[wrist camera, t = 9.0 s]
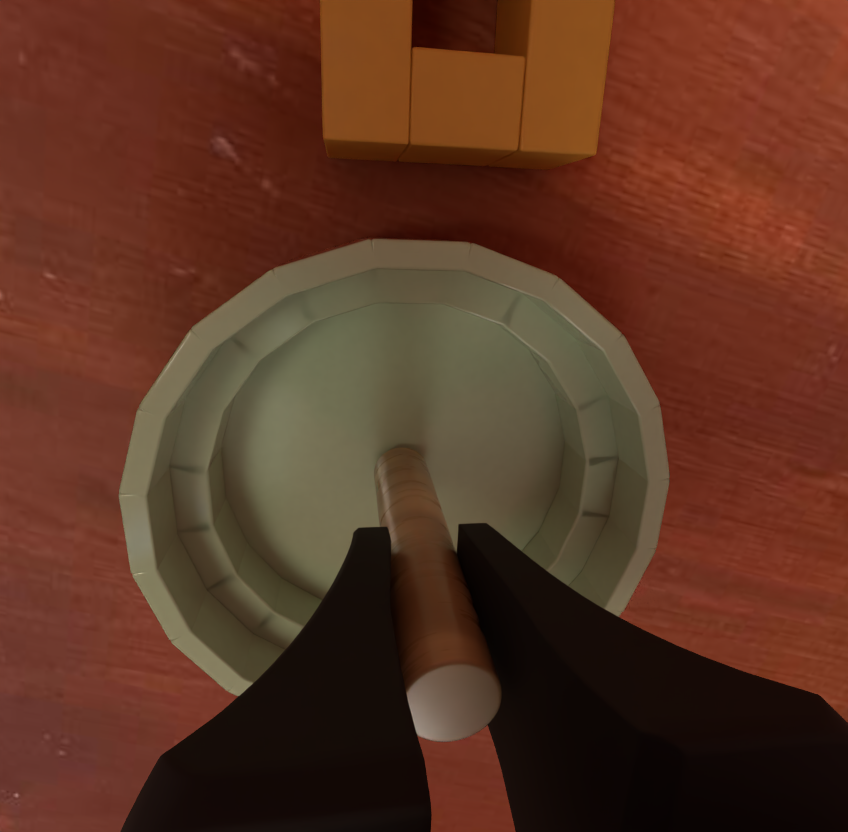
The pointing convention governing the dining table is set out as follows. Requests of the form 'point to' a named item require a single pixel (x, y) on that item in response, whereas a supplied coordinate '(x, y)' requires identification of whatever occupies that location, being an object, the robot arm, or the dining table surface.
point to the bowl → (383, 437)
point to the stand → (465, 86)
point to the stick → (432, 607)
